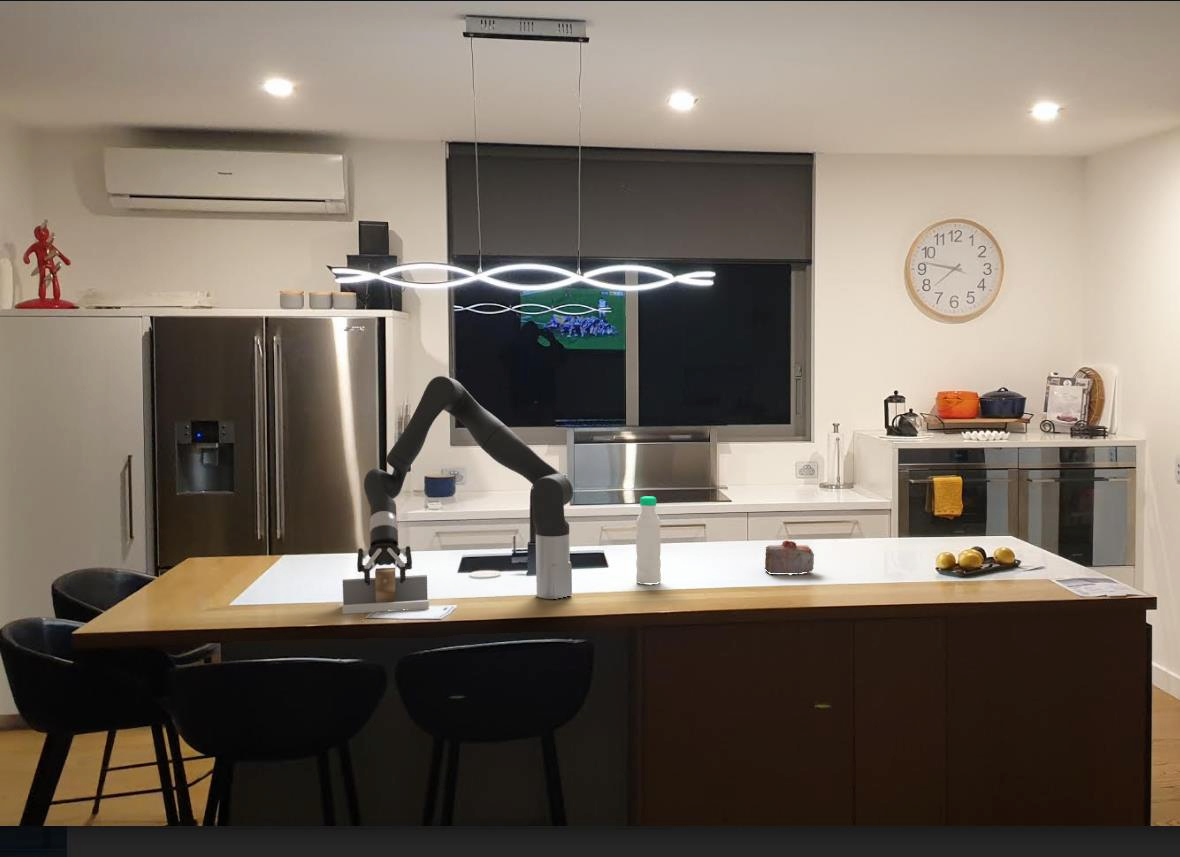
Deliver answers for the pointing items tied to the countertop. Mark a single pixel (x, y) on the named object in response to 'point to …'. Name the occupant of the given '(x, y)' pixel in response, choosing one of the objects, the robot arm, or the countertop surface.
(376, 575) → the walnut cabinet block
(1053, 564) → the countertop surface
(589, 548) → the countertop surface
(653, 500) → the water bottle
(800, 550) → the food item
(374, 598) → the grey display ledge
